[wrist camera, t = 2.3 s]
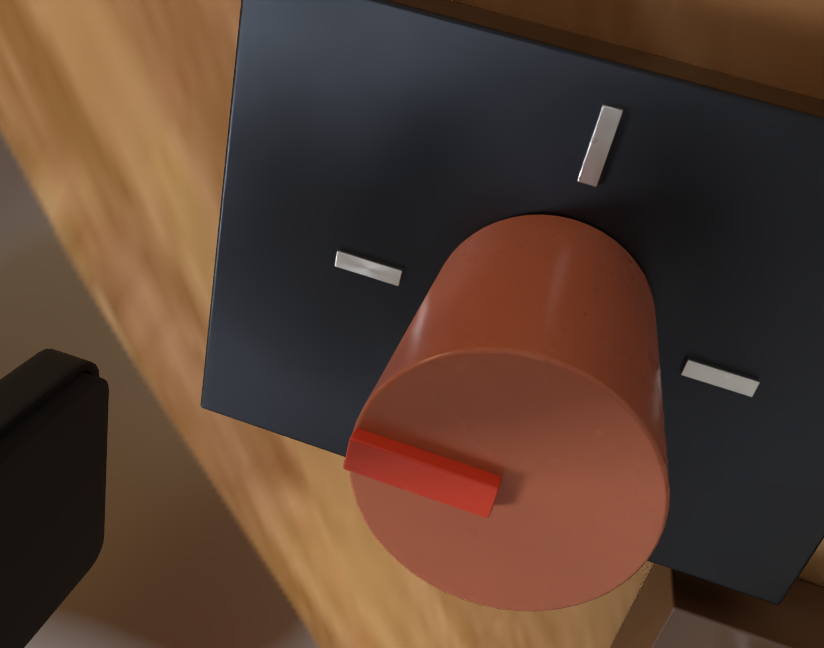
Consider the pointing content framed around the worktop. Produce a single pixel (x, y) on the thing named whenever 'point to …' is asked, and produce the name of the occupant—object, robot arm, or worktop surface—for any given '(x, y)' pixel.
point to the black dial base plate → (517, 196)
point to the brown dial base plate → (719, 616)
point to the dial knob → (521, 422)
